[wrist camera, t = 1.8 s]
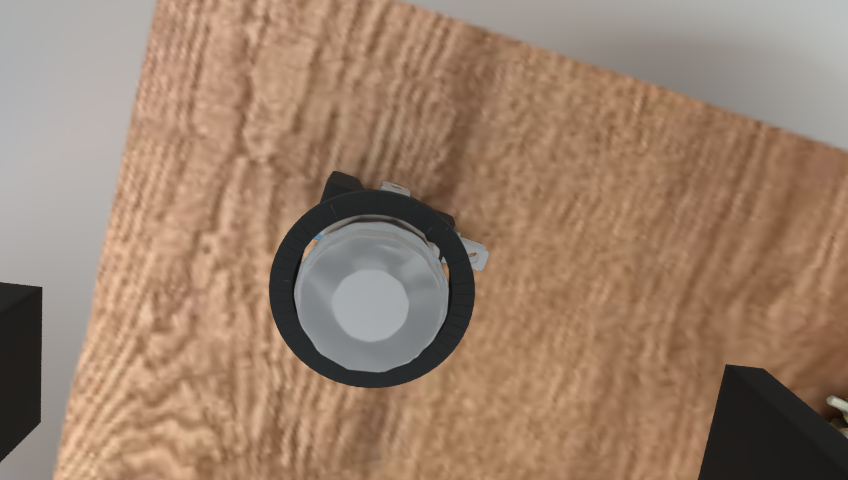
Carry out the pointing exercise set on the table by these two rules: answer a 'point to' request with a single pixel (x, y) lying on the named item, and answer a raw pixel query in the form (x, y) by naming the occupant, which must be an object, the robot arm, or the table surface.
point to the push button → (373, 285)
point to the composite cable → (844, 424)
